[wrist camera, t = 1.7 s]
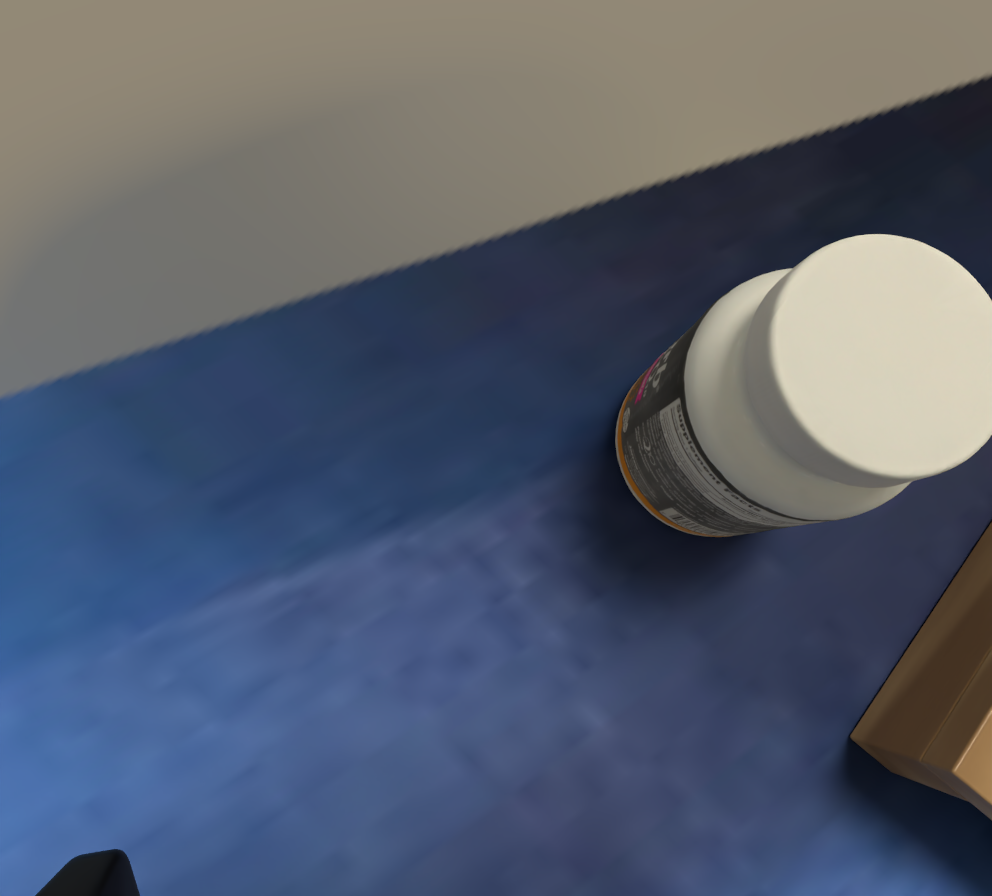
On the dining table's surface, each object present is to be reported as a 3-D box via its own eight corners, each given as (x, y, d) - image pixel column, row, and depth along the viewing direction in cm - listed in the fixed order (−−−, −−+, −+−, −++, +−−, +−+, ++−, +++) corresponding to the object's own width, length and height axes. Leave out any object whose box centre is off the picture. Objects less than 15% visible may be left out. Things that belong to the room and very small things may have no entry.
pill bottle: (709, 322, 25) (899, 147, 15) (827, 465, 24) (1103, 379, 14) (571, 429, 23) (678, 315, 14) (692, 580, 23) (892, 573, 13)
